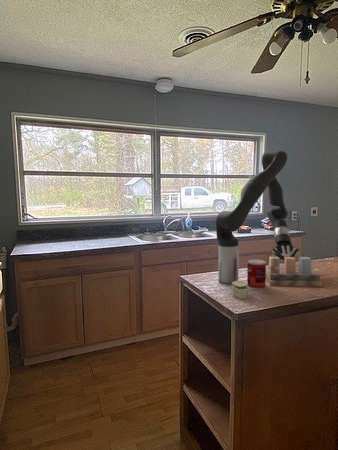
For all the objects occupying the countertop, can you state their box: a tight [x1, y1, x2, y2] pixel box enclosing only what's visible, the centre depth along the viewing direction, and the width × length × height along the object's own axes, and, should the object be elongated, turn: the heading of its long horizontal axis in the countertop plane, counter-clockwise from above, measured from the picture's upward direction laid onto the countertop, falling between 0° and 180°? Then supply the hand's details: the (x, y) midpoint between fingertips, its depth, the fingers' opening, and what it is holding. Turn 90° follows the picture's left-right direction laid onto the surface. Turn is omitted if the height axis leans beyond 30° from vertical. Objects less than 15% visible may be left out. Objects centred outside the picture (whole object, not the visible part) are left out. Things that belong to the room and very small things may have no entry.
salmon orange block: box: [283, 256, 297, 274], centre depth 134 cm, size 4×4×8 cm
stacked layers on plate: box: [231, 280, 249, 300], centre depth 114 cm, size 10×9×6 cm
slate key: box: [298, 256, 312, 274], centre depth 133 cm, size 4×4×8 cm
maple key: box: [268, 256, 281, 274], centre depth 135 cm, size 4×4×8 cm
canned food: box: [246, 259, 267, 289], centre depth 126 cm, size 8×8×11 cm
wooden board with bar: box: [266, 271, 324, 288], centre depth 132 cm, size 22×16×4 cm
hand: (288, 265), depth 136 cm, fingers closed
